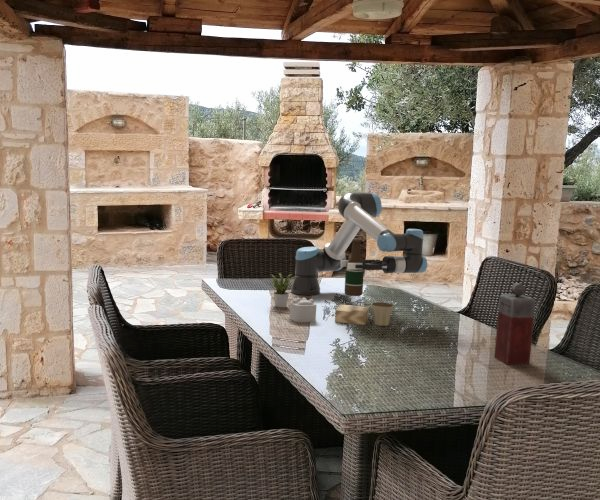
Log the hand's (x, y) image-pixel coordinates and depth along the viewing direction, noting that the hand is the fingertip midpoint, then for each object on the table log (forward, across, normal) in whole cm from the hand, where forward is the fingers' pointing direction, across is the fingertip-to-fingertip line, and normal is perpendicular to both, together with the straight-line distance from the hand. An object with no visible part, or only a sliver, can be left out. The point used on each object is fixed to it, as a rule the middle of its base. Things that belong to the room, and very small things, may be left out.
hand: (344, 264), depth 284 cm
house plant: (+17, +30, -24) cm, 42 cm away
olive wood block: (-5, 0, -24) cm, 25 cm away
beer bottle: (-5, 0, -13) cm, 14 cm away
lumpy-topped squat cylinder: (+16, +5, -24) cm, 30 cm away
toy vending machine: (-39, -65, -25) cm, 80 cm away
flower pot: (-15, -9, -24) cm, 30 cm away
